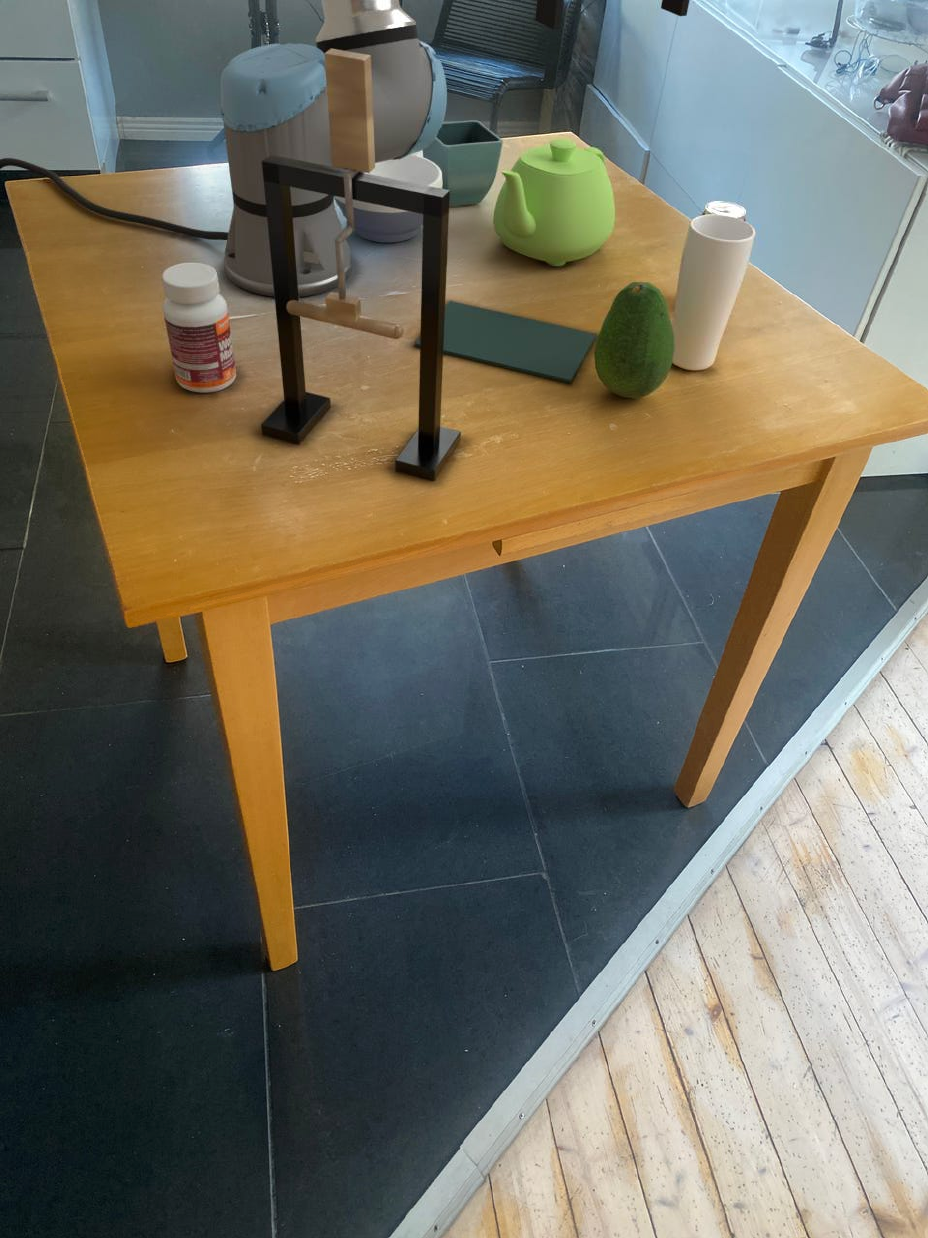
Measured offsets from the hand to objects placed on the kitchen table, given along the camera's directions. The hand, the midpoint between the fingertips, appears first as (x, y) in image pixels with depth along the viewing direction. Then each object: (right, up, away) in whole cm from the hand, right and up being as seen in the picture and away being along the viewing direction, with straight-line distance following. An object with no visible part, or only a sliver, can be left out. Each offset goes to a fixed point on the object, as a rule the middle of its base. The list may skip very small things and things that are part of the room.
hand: (612, 18), depth 82 cm
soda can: (+16, -14, +34) cm, 40 cm away
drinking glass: (+12, -23, +25) cm, 36 cm away
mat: (-8, -21, +25) cm, 33 cm away
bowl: (-23, 0, +45) cm, 50 cm away
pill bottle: (-40, -27, +17) cm, 51 cm away
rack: (-23, -34, +11) cm, 42 cm away
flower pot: (-14, +8, +53) cm, 55 cm away
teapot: (-2, -3, +43) cm, 43 cm away
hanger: (-22, -25, +1) cm, 34 cm away
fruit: (+4, -28, +19) cm, 34 cm away
